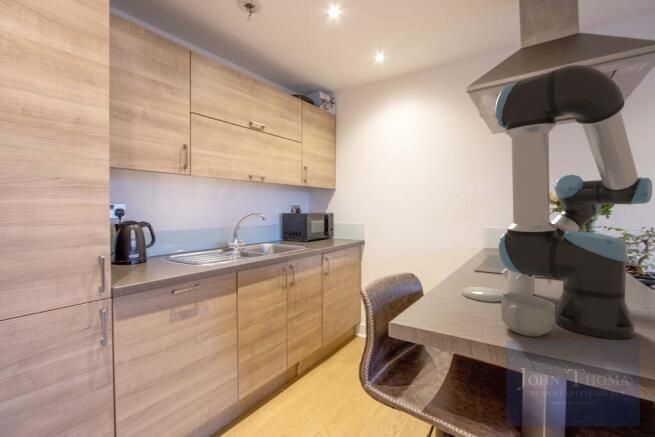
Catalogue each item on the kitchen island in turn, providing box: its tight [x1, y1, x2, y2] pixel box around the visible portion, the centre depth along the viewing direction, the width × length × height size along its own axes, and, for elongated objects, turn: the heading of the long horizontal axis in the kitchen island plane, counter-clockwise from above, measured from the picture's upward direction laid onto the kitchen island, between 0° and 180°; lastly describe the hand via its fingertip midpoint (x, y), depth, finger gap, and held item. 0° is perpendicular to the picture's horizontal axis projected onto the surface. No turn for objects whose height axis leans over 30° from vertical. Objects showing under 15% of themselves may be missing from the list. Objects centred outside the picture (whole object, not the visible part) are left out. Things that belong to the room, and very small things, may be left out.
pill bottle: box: [507, 270, 536, 296], centre depth 107 cm, size 8×8×15 cm
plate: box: [461, 286, 507, 303], centre depth 104 cm, size 14×14×1 cm
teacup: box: [500, 292, 557, 338], centre depth 73 cm, size 14×11×8 cm
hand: (511, 278), depth 107 cm, fingers closed on pill bottle, 8 cm apart
